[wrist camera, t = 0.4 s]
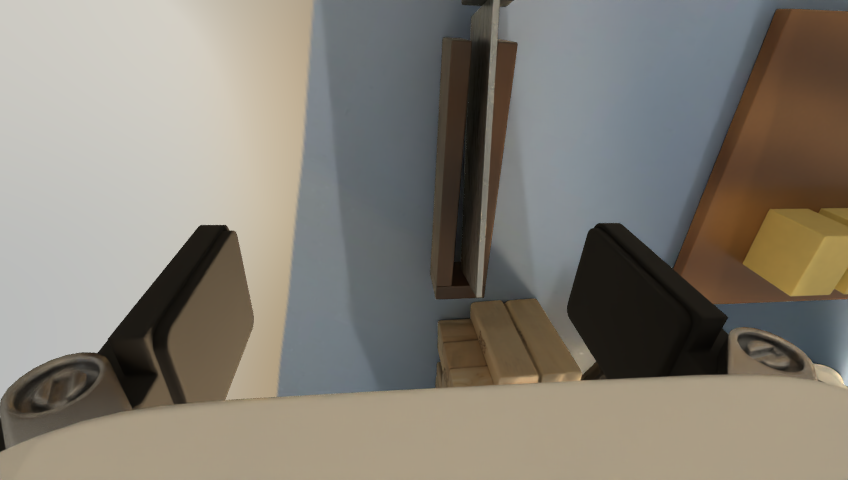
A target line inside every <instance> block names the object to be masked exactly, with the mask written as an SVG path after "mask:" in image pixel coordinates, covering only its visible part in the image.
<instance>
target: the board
mask: <svg viewBox="0 0 848 480" xmlns="http://www.w3.org/2000/svg"><path fill="white" fill-rule="evenodd" d="M821 208H848V11H830V10H810V9H777V10H776V12H775V14H774V17H773V19H772V22H771V24H770V27H769V29H768V32H767V34H766V37H765V39H764V42H763V44H762V47H761V49H760V52H759V54H758V57H757V59H756V62H755V64H754V67H753V69H752V72H751V75H750V77H749V80H748V82H747V85H746V87H745V90H744V92H743V95H742V97H741V100H740V102H739V105H738V107H737V110H736V112H735V115H734V117H733V120H732V122H731V125H730V127H729V130H728V132H727V135H726V137H725V140H724V142H723V145H722V147H721V150H720V152H719V155H718V157H717V160H716V162H715V165H714V167H713V170H712V172H711V175H710V178H709V180H708V183H707V185H706V188H705V190H704V193H703V195H702V198H701V200H700V203H699V205H698V208H697V210H696V213H695V215H694V218H693V220H692V223H691V225H690V228H689V230H688V233H687V235H686V238H685V240H684V243H683V245H682V248H681V250H680V253H679V255H678V258H677V260H676V263H675V265H674V268H673V269H674V270H675V271H676V272H677V273H678V274H679V275H680V276H682V277H683V278H684V279H685V280H686V281H687V282H688V283H690V284H691V285H692V286H693V287H694V288H695V289H696V290H698V291H699V292H700V293H701V294H702V295H703V296H704V297H706V298H707V299H708V300H709V301H710V302H711V303H712V304H735V303H760V302H786V301H811V300H836V299H848V294H842V293H841V292H839V291H837V290H836V289H834V290H833V291H832V293H831V294H830V295H812V296H789V295H787V294H786V293H784V292H783V291H782V290H780V289H779V288H777V287H776V286H774V285H773V284H771V283H770V282H768V281H767V280H765V279H764V278H762V277H761V276H759V275H758V274H756V273H755V272H753V271H752V270H750V269H749V268H748V267H746V266H745V265H743V262H744V260H745V258H746V256H747V254H748V252H749V250H750V247H751V245H752V243H753V241H754V239H755V237H756V235H757V233H758V231H759V229H760V227H761V225H762V223H763V221H764V219H765V217H766V215H767V213H768V211H769V209H810V210H812V211H814V212H817V213H819V211H820V209H821Z"/></svg>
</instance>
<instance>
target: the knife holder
mask: <svg viewBox="0 0 848 480" xmlns="http://www.w3.org/2000/svg"><path fill="white" fill-rule="evenodd" d="M517 46H518V44H517V42H512V41H507V40H501V39H497V56H496V72H495V88H494V104H493V121H492V137H491V153H490V170H489V186H488V202H487V219H486V235H485V251H484V268H483V284H482V297H476V296H475V294H474V292H473V290H472V288H471V286H470V285H469V283H468V281H467V279H466V277H465V275H464V274H463V272H462V270H461V268H460V264H461V261H456V262H454V253H455V242H456V230H457V218H458V206H459V194H460V182H461V171H462V159H463V147H464V135H465V123H466V111H467V100H468V88H469V76H470V64H471V52H472V41H470V40H466V39H462V38H450V37H444V38H443V40H442V59H441V78H440V97H439V116H438V136H437V155H436V174H435V193H434V212H433V231H432V251H431V269H430V275H431V280H432V284H433V289H434V294H435V298H436V299H461V298H484V294H485V286H486V285H485V284H486V278H487V270H488V263H489V255H490V248H491V240H492V233H493V225H494V218H495V210H496V203H497V195H498V188H499V180H500V173H501V165H502V158H503V150H504V143H505V135H506V128H507V120H508V113H509V105H510V98H511V90H512V83H513V75H514V68H515V60H516V53H517Z"/></svg>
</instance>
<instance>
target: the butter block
mask: <svg viewBox="0 0 848 480" xmlns="http://www.w3.org/2000/svg"><path fill="white" fill-rule="evenodd" d="M819 214H821V215H823V216H826V217H828V218H830V219H832V220H835V221H837V222H839V223H841V224H844V225H846V226H848V208H821V209H820V211H819ZM834 289H836V290H837V291H839V292H841V293H842V294H848V268H847V269H846V271H845V272H844V274H843V276H842V277H841V279H840V280H839V282H838V283H837V285H836V286H835V288H834Z"/></svg>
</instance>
